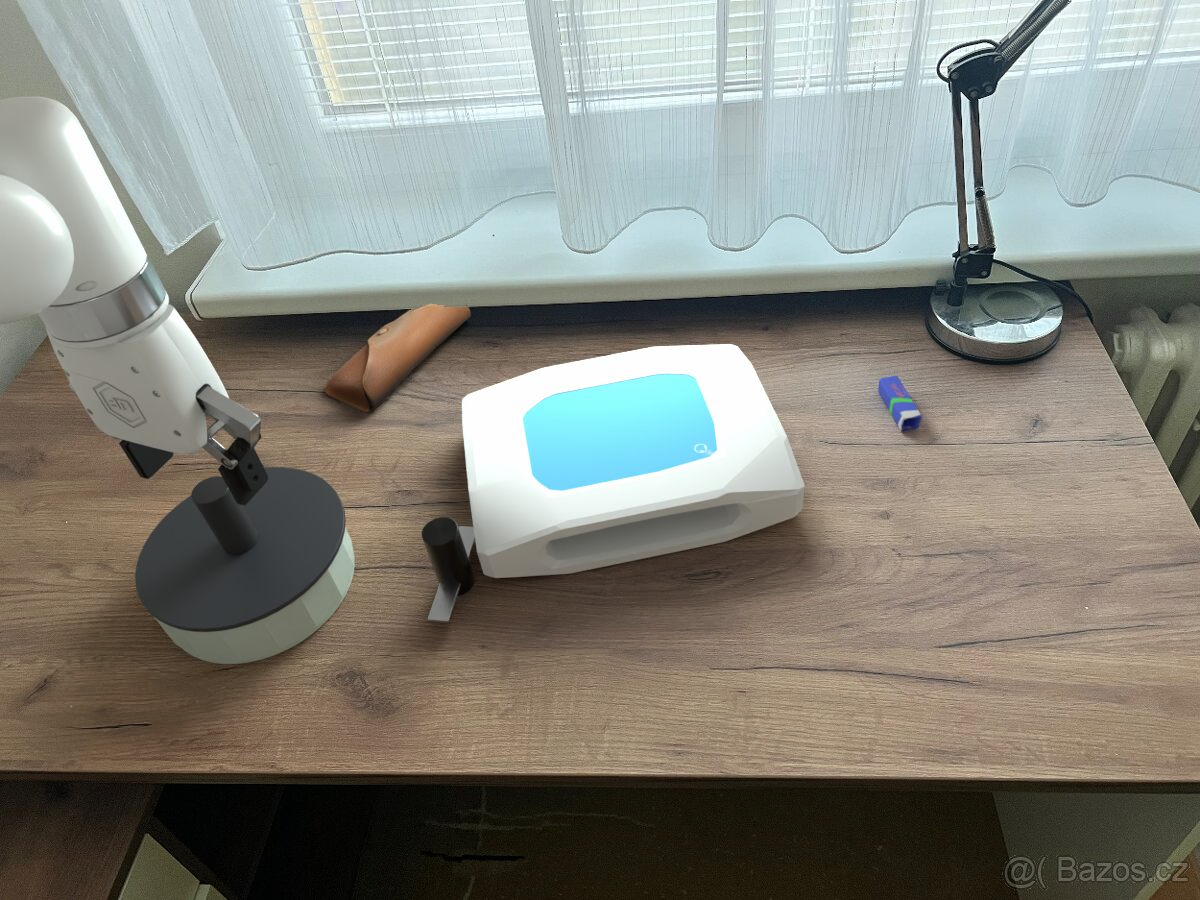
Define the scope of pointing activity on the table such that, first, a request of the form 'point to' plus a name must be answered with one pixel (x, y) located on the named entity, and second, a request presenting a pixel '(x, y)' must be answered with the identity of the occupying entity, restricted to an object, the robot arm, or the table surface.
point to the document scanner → (624, 460)
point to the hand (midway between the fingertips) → (205, 479)
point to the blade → (449, 563)
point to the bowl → (275, 620)
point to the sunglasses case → (393, 355)
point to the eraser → (899, 403)
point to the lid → (240, 551)
